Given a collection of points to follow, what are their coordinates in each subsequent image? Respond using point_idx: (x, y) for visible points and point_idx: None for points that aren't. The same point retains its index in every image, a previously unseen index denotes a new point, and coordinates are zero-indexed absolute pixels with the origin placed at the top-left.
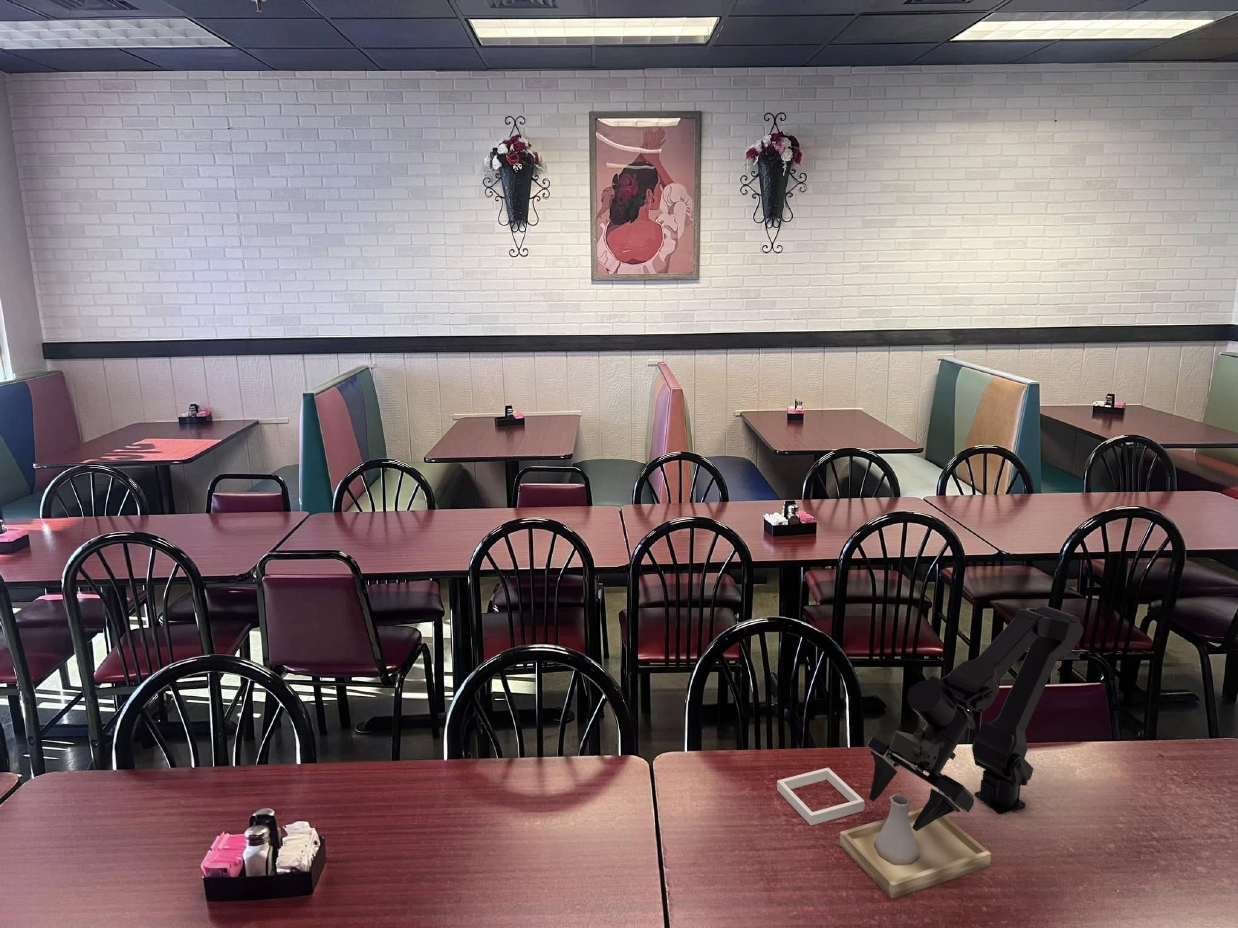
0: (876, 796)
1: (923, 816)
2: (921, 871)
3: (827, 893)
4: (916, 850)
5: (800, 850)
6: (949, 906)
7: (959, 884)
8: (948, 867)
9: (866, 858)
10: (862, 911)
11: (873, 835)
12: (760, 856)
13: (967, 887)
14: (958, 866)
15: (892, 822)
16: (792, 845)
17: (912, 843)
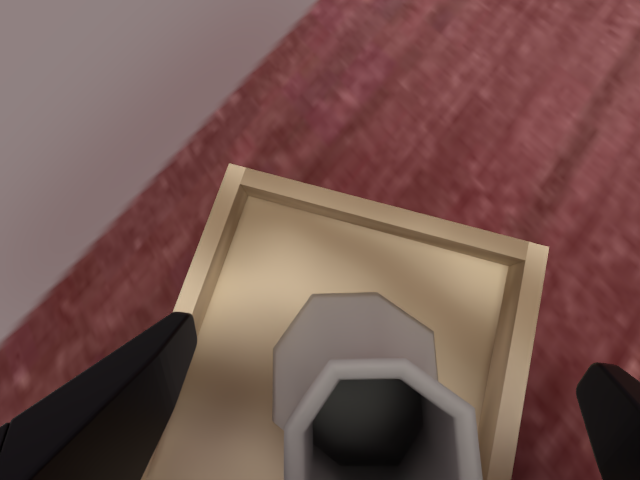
0: (599, 430)
1: (70, 386)
2: (228, 347)
3: (376, 63)
4: (276, 407)
5: (565, 132)
6: (106, 295)
7: None
8: None
9: (373, 202)
10: (270, 85)
11: (472, 382)
12: (608, 23)
13: None
14: None
15: (368, 345)
16: (600, 129)
17: (283, 397)
